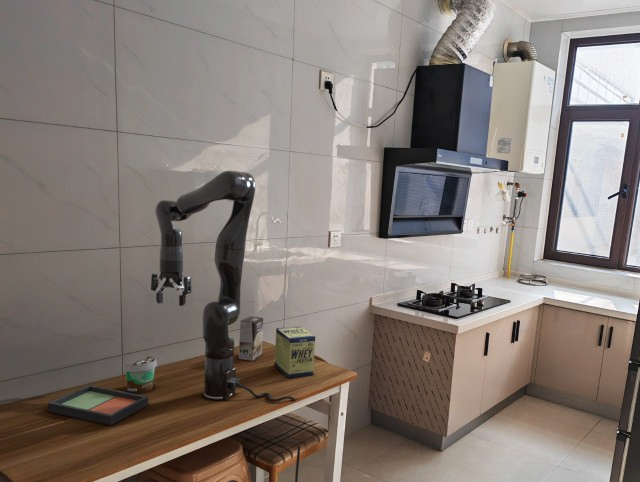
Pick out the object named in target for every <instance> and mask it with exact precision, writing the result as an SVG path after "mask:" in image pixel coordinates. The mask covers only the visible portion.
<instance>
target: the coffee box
mask: <svg viewBox="0 0 640 482" xmlns="http://www.w3.org/2000/svg"><path fill="white" fill-rule="evenodd" d="M239 322H240V323H239V341H238V342H239V346H238V359H239V360H246V361H251V362H252V361H255V360H256V359H257V358H259V357H260V356H261V355H262V353H263V351H262V349H263V332H264V317H259V316H251V315H250V316H247V317H245V318H243V319H241V320H240V321H239Z"/></svg>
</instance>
